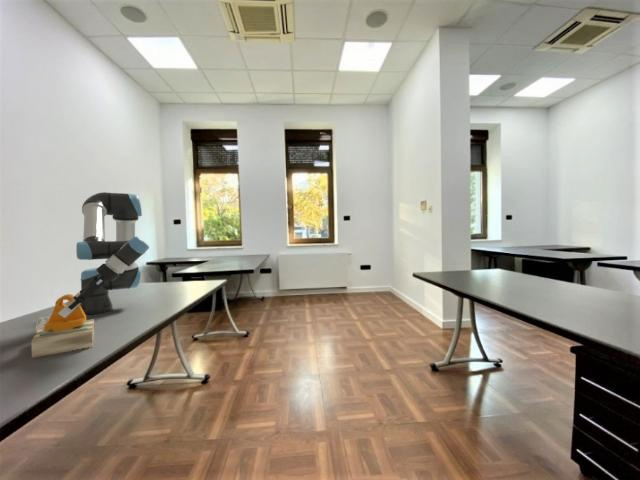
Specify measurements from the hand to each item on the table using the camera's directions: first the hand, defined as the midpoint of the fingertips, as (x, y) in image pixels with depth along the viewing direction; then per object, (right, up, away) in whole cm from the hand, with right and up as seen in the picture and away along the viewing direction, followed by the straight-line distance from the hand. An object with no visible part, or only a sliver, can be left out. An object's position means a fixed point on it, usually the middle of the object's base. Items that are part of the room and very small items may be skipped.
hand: (64, 311), depth 109 cm
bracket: (0, -6, 0) cm, 6 cm away
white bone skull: (-16, -13, +13) cm, 24 cm away
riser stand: (0, -13, +1) cm, 13 cm away
